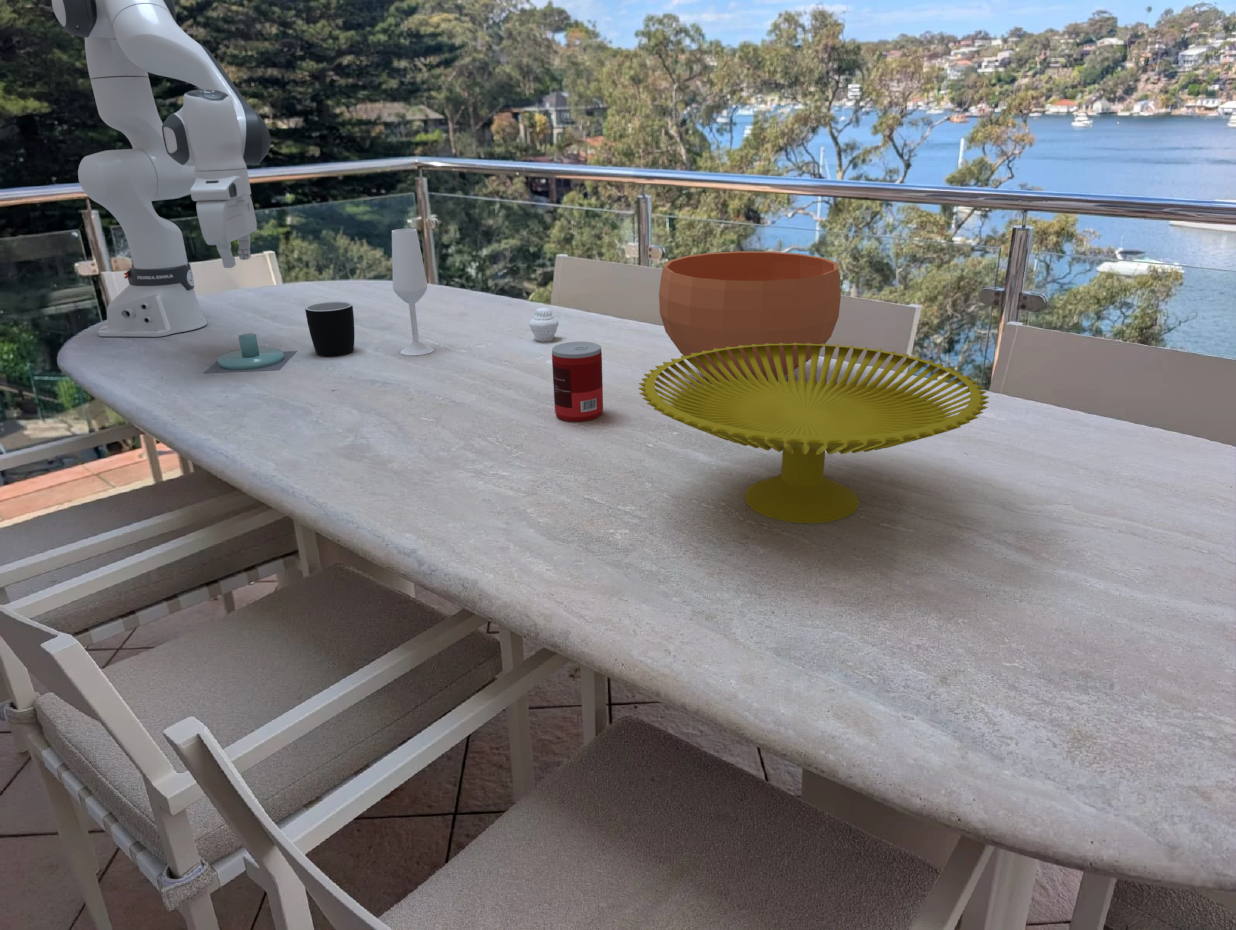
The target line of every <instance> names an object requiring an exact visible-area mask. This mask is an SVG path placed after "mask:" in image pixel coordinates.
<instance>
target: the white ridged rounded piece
mask: <svg viewBox="0 0 1236 930" xmlns="http://www.w3.org/2000/svg"><path fill="white" fill-rule="evenodd" d="M528 322H529V323H528V326H529V327H530V330H531V332H532V334H533V335H534V337H535V339H536V341H538V342H543V343H546V342H551V341H552V340H553V339H554V337H555V334H556V333H557V330H558V326H559V320H558V319H557V318H556V317H555V316H554V314H553V311H552V310H551V309H550V308H548V307H544V306H542V307H539V308H536V310H535V311H534V315H533V316H532V318H531V319H530V320H529V321H528Z"/></svg>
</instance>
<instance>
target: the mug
mask: <svg viewBox="0 0 1236 930" xmlns="http://www.w3.org/2000/svg"><path fill="white" fill-rule="evenodd" d="M304 310H305V315H306V321H307V325H308V330H309V334H310V339H311V341H312V344H313V347H314V349H315V353H316V354H317V356H319V357H325V358H332V357H333V358H334V357H335V358H337V357H342V356H347V355H349V354H352V353H353V352H354V348H355V317H354V315H355V313H354V307H353V304H352V303H351V302H349V301H337V300H336V301H323V302H317V303H312V304H309V305H307V306H305V309H304Z"/></svg>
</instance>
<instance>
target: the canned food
mask: <svg viewBox="0 0 1236 930" xmlns="http://www.w3.org/2000/svg"><path fill="white" fill-rule="evenodd" d="M602 352H603V351H602V345H600V344H598V343H595V342H590V341H569V342H568V341H567V342H563V343H559V344H556V345H555V346H553V347H552V348H551V359H552V360H551V364H552V365H551V366H552V378H553V379H552V384H553V398H554V399H553V401H554V404H553V405H554V413H555V414H556V417H557V418H558V419H559V420H562V421H565V422H571V423H572V422H574V423H575V422H576V423H579V422H581V423H582V422H588V421H592V420H595V419H598V418H599V417H600V416H601V415H602V414H603V411H604V392H603V390H604V389H603V387H604V386H603V355H602V354H603V353H602Z"/></svg>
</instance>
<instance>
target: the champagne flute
mask: <svg viewBox="0 0 1236 930" xmlns="http://www.w3.org/2000/svg"><path fill="white" fill-rule="evenodd" d="M418 235H419V234H418V230H417V229H415V228H400V229H399V228H397V229H393V230H391V263H392V289H393V291H394V293H395V294H396V296H397V297H398V298H400V299H401V300H402V301H404V303H406V304H408V305H409V306H408V307H409V316H410V323H411V324H410V325H411V327H410V328H411V335H412V336H411V337H412V342H411V343H410V344H409V345H407V346H406V347H405V348H403V349H402V350H401V351H400V354H401V355H405V356H421V355H427V354H430V353H432V352H434V348H432V347H431V346H428V345H426V344H424V343H423V342H421V341H420V340H419V329H418V328H419V327H418V319H417V311H416V304H417V303H418V302H420V300H421V299H422V298H423V296H424V295H425V293H427V289H428V283H427V277H426V271H425V265H424V262H423V256H422V251H421V246H420V241H419V236H418Z"/></svg>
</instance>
